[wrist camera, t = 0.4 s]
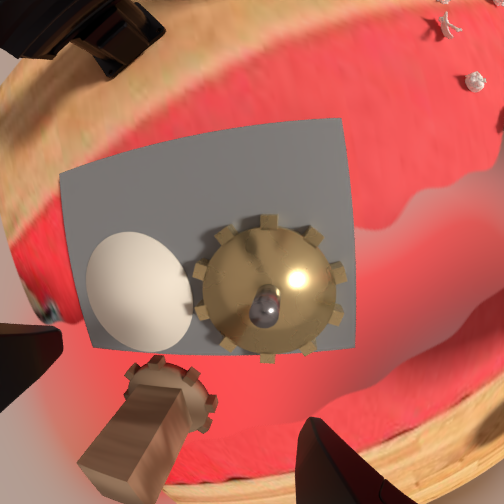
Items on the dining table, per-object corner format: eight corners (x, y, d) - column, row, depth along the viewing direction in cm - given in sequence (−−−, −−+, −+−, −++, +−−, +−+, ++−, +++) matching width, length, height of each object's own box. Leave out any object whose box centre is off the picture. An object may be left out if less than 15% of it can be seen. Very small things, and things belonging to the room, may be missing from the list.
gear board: (70, 173, 22) (57, 173, 20) (337, 123, 18) (341, 117, 16) (101, 340, 24) (91, 348, 23) (351, 338, 21) (355, 348, 19)
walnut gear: (118, 351, 24) (37, 428, 12) (208, 357, 23) (148, 469, 11) (144, 421, 26) (93, 500, 14) (225, 431, 25) (192, 532, 12)
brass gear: (172, 268, 20) (143, 287, 16) (286, 183, 18) (285, 179, 14) (255, 372, 21) (246, 409, 17) (368, 305, 19) (386, 334, 14)
